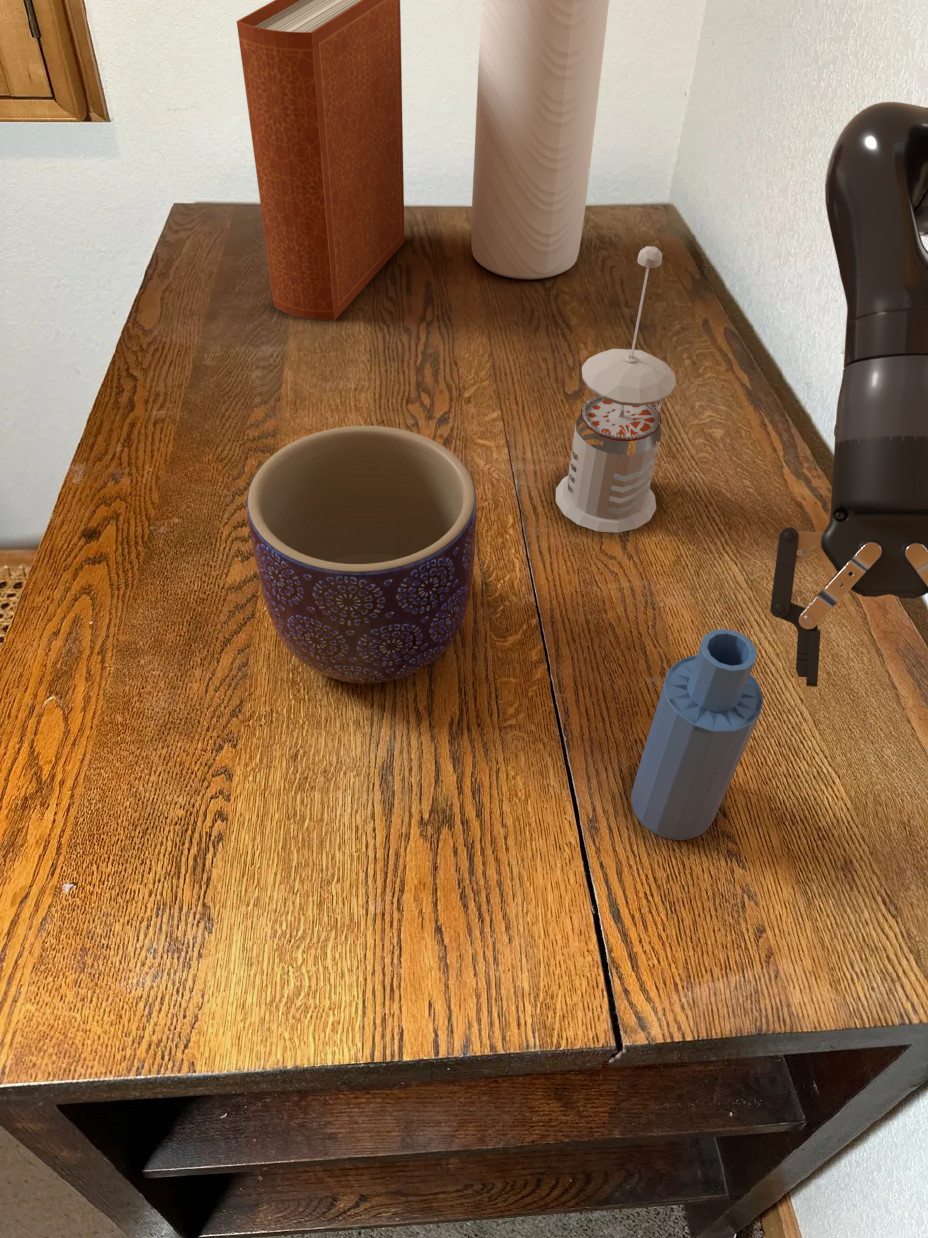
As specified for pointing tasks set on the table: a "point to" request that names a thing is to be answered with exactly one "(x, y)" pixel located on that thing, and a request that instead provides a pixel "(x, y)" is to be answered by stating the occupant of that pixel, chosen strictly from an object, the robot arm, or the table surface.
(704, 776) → the blue bottle
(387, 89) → the book
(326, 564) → the planter
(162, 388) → the table surface
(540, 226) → the vase
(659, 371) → the french press
